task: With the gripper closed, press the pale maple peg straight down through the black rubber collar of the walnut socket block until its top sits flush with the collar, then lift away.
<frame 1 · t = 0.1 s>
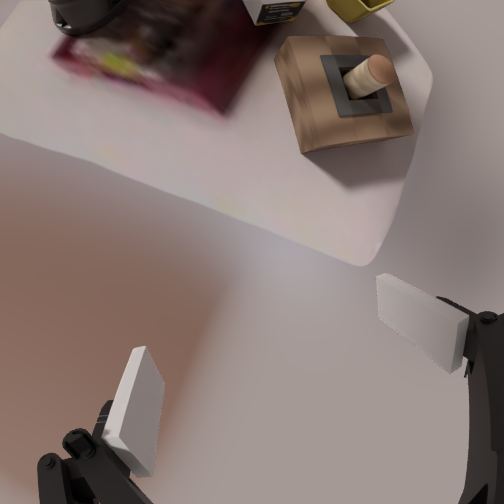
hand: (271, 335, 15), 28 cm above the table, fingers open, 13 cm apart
socket block: (333, 98, 39), on the table
medicine bottle: (267, 9, 34), on the table
flower pot: (343, 10, 36), on the table
peg: (366, 78, 29), point 10 cm above the table, slide at 6.0 cm
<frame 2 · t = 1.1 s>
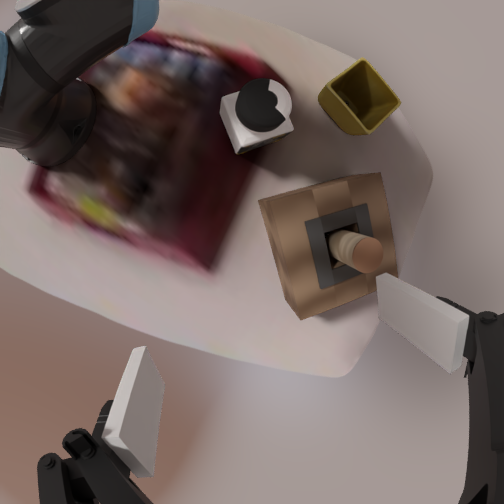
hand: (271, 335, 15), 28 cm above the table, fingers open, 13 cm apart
socket block: (321, 236, 44), on the table
medicine bottle: (250, 125, 39), on the table
flower pot: (339, 109, 40), on the table
peg: (352, 248, 33), point 10 cm above the table, slide at 6.0 cm
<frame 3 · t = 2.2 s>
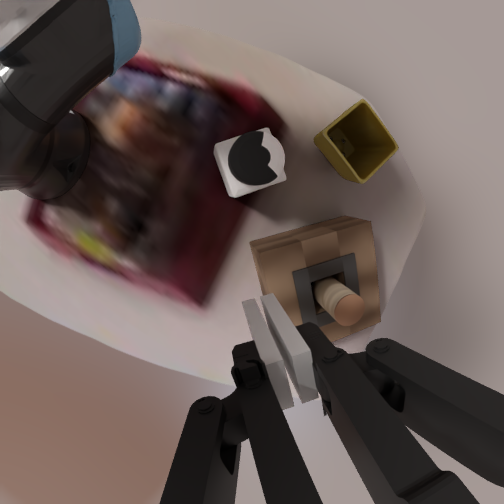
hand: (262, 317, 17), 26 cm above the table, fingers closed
socket block: (309, 275, 45), on the table
medicine bottle: (243, 166, 41), on the table
flower pot: (335, 147, 42), on the table
peg: (336, 298, 35), point 10 cm above the table, slide at 6.0 cm
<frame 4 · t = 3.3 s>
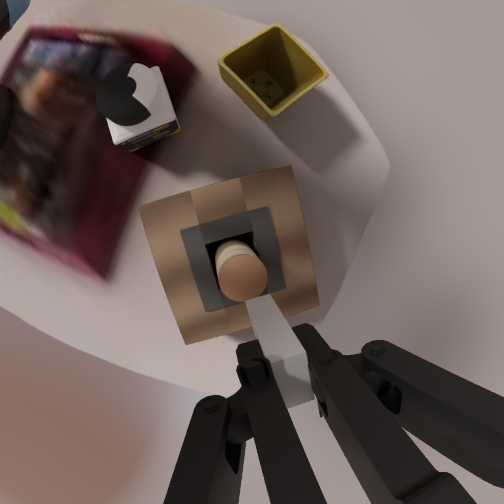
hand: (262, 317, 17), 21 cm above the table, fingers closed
socket block: (228, 245, 37), on the table
medicine bottle: (147, 118, 32), on the table
flower pot: (259, 91, 34), on the table
peg: (237, 266, 27), point 10 cm above the table, slide at 6.0 cm
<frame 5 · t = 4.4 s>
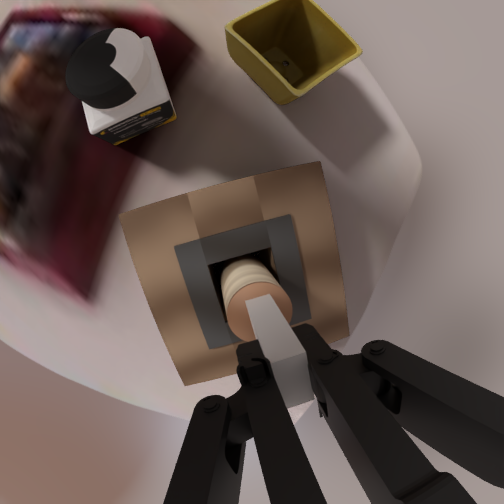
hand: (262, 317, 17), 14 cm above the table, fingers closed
socket block: (236, 260, 30), on the table
medicine bottle: (136, 104, 25), on the table
flower pot: (273, 73, 27), on the table
peg: (250, 291, 21), point 10 cm above the table, slide at 5.2 cm, touching gripper
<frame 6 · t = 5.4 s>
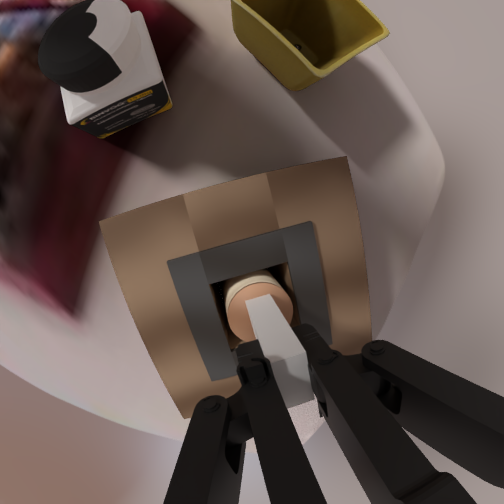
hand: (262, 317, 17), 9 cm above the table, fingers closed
socket block: (241, 272, 26), on the table
medicine bottle: (126, 91, 21), on the table
flower pot: (284, 57, 22), on the table
peg: (250, 292, 21), point 5 cm above the table, slide at 0.8 cm, touching gripper
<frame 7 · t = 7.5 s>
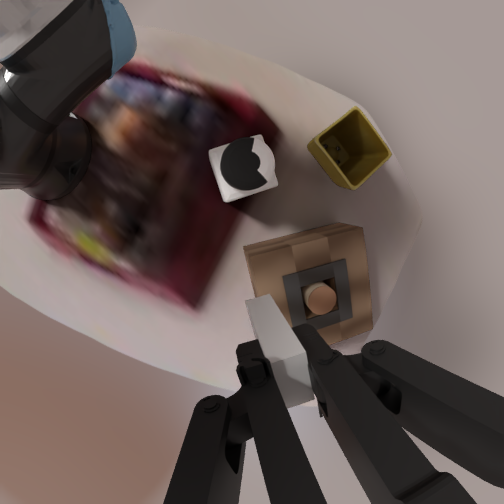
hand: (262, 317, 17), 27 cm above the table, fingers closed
socket block: (302, 281, 46), on the table
medicine bottle: (238, 172, 42), on the table
flower pot: (330, 155, 43), on the table
peg: (312, 291, 41), point 5 cm above the table, slide at 0.8 cm
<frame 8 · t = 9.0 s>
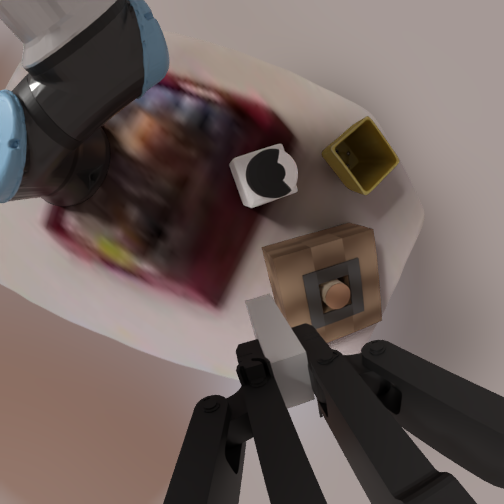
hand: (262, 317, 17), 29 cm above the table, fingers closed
socket block: (316, 278, 49), on the table
medicine bottle: (257, 177, 44), on the table
flower pot: (340, 159, 46), on the table
peg: (327, 287, 44), point 5 cm above the table, slide at 0.8 cm
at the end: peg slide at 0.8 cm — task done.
